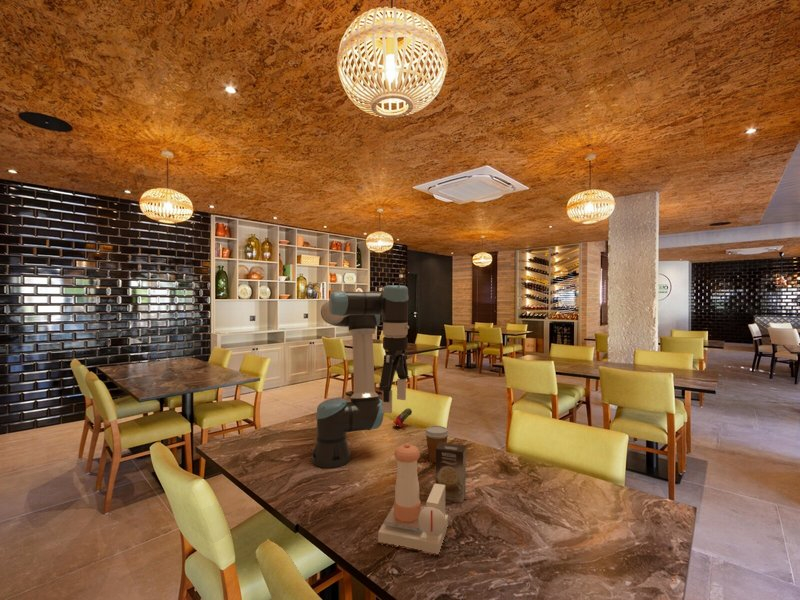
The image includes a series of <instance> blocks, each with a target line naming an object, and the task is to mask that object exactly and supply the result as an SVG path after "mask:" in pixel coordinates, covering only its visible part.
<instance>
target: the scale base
mask: <svg viewBox="0 0 800 600" xmlns="http://www.w3.org/2000/svg"><path fill="white" fill-rule="evenodd" d="M428 495H429V496H428V497H427V500H426V503H425V504H426V506H424V507H425V508H424V509H422V510H421V512H420V514H419V517H418V522H419V525H420V527H421V529H422V530H421V532H420V531H414V530H409V529H404V528H399V527H394V526H389V525H384V522H383V523H382V524H381V527H380V528H379V530H378V533H377V536H378V537H377V543H378V542H383V543H388V544H394V545H400V546H405V547H409V548H414V549H418V550H422V551H427V552H431V553H436V554H439V552H440V553H441V551H440V549H441V550H442V548H441V546H443V544H444V541H443V540H445V538H446V533H447V531H448V528H449V514H446V500H445V485H442V484H436V483H433V486H432V488H431V490H430V493H429V494H428ZM447 527H448V528H447ZM444 537H445V538H444ZM442 543H443V544H442ZM439 555H440V554H439Z"/></svg>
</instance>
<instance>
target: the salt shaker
mask: <svg viewBox="0 0 800 600" xmlns="http://www.w3.org/2000/svg"><path fill="white" fill-rule="evenodd" d="M393 455H394V457H395V460H396V461H397V462H396V463H397V464H396V481H395V485H394V487H395V488H394V497H395V499H393V500H394V501H393V506H394V516H395V518H396V519H398V520H400V521H403V522H412V521H415V520H417V519H418V517H419V514H420V512H421V506H422V505H421V499H420V483H419V477H418V460H419V459H420V456H421V452H420V450H419V448H418V447H417V445H413V444H410V443H408V442H406V443H404V444H402V445H398V446H397V447H396V448H395V450H394V454H393Z"/></svg>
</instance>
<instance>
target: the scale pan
mask: <svg viewBox="0 0 800 600" xmlns="http://www.w3.org/2000/svg"><path fill="white" fill-rule="evenodd" d="M425 507H426V506H423V505H421V510H422V509H424V508H425ZM383 523H384V525H389V526H394V527H399V528H404V529H409V530H414V531H420V532H421V530H422V529H421V527H420V525H419V522H418V519H417V520H415V521H412V522H403V521H400V520H398V519H396V518H395V516H394V505H392V507H391V509H390V511H389V512H388V514H387V516H386V518H385V519H384V521H383Z"/></svg>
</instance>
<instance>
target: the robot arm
mask: <svg viewBox="0 0 800 600" xmlns="http://www.w3.org/2000/svg"><path fill="white" fill-rule="evenodd" d="M409 297H410V296H409V289H408V287H407V286H406V285H384V286H383V291H344V290H339V291H332V292H331V293H330V294H329V300H327V301H326V302H325V303H323V305H322V306H321V310H320V315H321V318H322V319H323V321H324V322H326V323H327V324H328V325H331V326H335V327H340V328H344V327H345V328H346V327H347V328H348V332H349V333H350V334H351V335H352V337H351V338H352V363H353V364H352V366H353V394H352V395H351V396H350V401H347V400H346V398H343V397H340V398H339V397H338V398H337V397H335V398H330V399H327V400H325V401H321V402H320V403H319V404H318V406H317V407H316V416H315V417H316V442H315V445H314V448H313V452H312V455H311V463H312V464H313V465H314V466H316V467H318V468H323V469H326V468H327V469H330V468H337V467H341V466H344V465H346V464H348V463H349V462H350V461H351V458H352V457H351V454H352V453H351V450H350V446H349V444H348V440H347V433H351V432H352V433H353V432H360V431H371V430H376V429H379V428H380V427H381V426H382V424H383V420H384V416H385V414H384V413H386V414H392V413H393V389H392V387H393V382H394V378H395V375H396V374H397V377H398V378H397V379H396V380H397V381H396V400H398V401H399V400H400V401H406V400H407V394H406V393H407V380H409V377H410V376H409V371H408V370H409V369H408V363H407V357H406V350H407V349H408V343H409V341H408V340H409V338H408V337H407V335H408V332H409V331H408V330H409V329H410V326H409V324H408V322H409V300H410V299H409ZM381 315H382V316H383V317H382V321H383V322H382V335H383V336H384V337H382V349H383V350H386V351H387V352H388V353H387V354H384V355H383V365H382V371H381V375H380V383H379V388H378V389H379V391H382V399H380V398H379V394H378V393H377V392H376V389H375V367H374V366H375V365H374V363H375V362H374V341H373V340H374V339H373V338H374V337H373V334H374V333H375V331H377V329H376V327H378V326H379V325H380V322H381V321H380V320H381Z"/></svg>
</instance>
